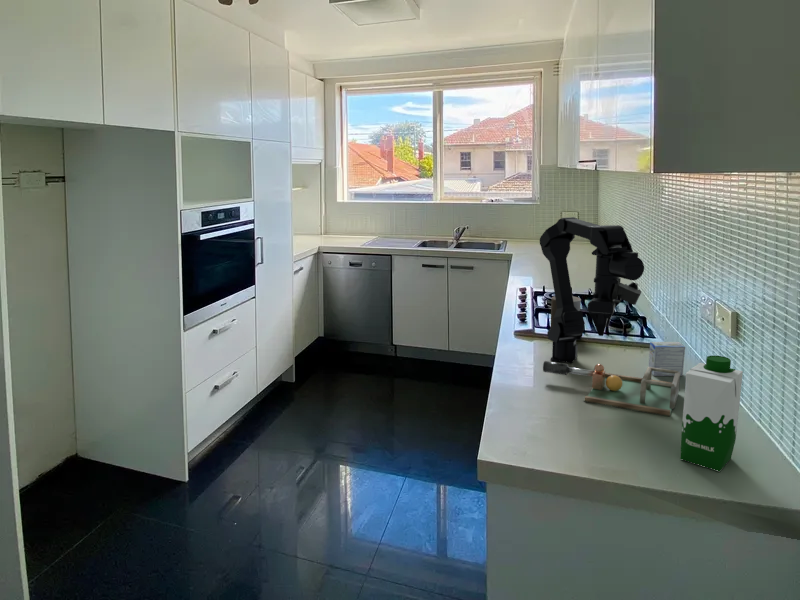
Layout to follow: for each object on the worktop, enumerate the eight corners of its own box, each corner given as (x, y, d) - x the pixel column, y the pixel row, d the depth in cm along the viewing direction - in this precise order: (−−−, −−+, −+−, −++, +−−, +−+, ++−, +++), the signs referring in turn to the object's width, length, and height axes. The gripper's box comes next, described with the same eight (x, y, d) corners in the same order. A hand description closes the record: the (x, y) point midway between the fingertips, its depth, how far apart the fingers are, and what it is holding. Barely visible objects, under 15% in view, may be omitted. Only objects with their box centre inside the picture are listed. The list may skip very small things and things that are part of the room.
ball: (603, 391, 141) (604, 376, 140) (607, 386, 144) (607, 372, 144) (620, 394, 139) (621, 379, 138) (623, 389, 142) (624, 374, 142)
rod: (542, 380, 149) (543, 358, 148) (546, 376, 152) (546, 354, 151) (601, 389, 142) (602, 366, 140) (604, 385, 145) (605, 362, 143)
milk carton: (737, 458, 107) (748, 360, 103) (723, 476, 101) (734, 373, 97) (689, 444, 113) (698, 351, 109) (672, 460, 107) (681, 362, 103)
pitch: (584, 401, 136) (585, 377, 135) (601, 376, 153) (602, 354, 151) (672, 417, 126) (674, 391, 125) (679, 388, 143) (681, 364, 141)
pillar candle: (547, 339, 189) (549, 296, 185) (552, 331, 197) (554, 290, 194) (576, 342, 184) (579, 298, 181) (581, 334, 193) (583, 292, 190)
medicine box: (676, 371, 155) (679, 341, 153) (683, 376, 151) (685, 346, 149) (647, 370, 156) (649, 341, 154) (653, 376, 152) (655, 346, 150)
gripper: (636, 282, 133) (632, 344, 136) (643, 269, 149) (639, 325, 152) (588, 279, 138) (585, 339, 142) (600, 267, 154) (597, 321, 158)
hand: (603, 331), depth 148 cm, fingers open, 9 cm apart
